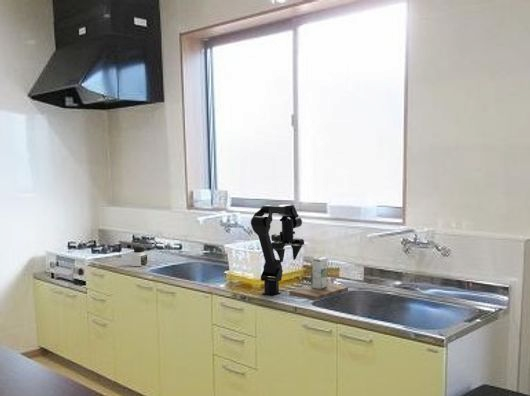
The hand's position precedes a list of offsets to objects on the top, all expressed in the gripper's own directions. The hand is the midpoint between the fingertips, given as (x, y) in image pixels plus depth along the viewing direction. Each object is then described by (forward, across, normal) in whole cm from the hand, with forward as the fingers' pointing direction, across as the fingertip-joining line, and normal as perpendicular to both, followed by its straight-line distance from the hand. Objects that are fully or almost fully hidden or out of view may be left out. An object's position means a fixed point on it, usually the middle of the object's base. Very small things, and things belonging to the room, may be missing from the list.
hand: (288, 260), depth 265 cm
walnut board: (+13, -1, +19) cm, 23 cm away
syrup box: (+12, -4, +17) cm, 21 cm away
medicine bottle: (+13, +20, -108) cm, 111 cm away
